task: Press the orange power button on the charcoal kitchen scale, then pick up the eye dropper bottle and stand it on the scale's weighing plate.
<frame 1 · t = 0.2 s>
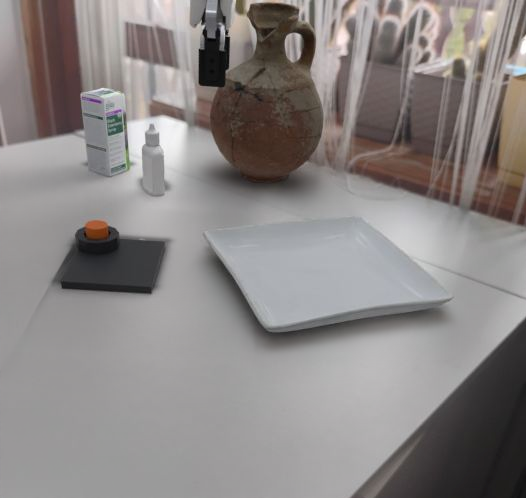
hand: (214, 77, 79), 26 cm above the table, tool pointing down, fingers open, 9 cm apart
scale: (116, 267, 90), on the table
square plate: (317, 284, 90), on the table
syrup box: (109, 171, 122), on the table
jug: (263, 174, 126), on the table
power button: (96, 230, 91), point 3 cm above the table, slide at 0.1 cm
eye dropper bottle: (154, 191, 115), on the table
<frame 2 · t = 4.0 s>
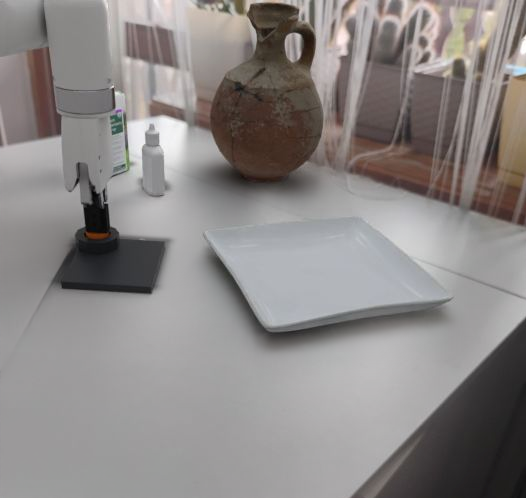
hand: (98, 230, 91), 3 cm above the table, tool pointing down, fingers closed
power button: (97, 236, 92), point 3 cm above the table, slide at -0.8 cm, touching gripper
everything else where it was.
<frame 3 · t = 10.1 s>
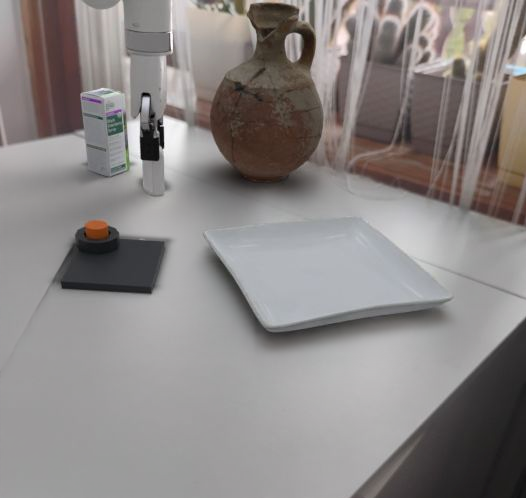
hand: (152, 153, 111), 7 cm above the table, tool pointing down, fingers closed on eye dropper bottle, 5 cm apart
power button: (96, 230, 91), point 3 cm above the table, slide at 0.1 cm
eye dropper bottle: (154, 191, 115), on the table, touching gripper
everything else where it was.
when the fingers open (8 cm above the table, at t = 18.2 s): eye dropper bottle stays where it is, resting on scale.
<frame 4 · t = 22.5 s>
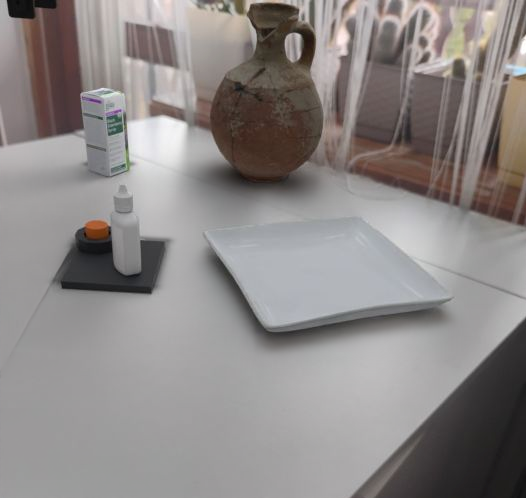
hand: (34, 12, 82), 30 cm above the table, tool pointing down, fingers open, 9 cm apart
eye dropper bottle: (127, 268, 88), point 1 cm above the table, touching scale
everything else where it was.
at the end: power button pushed in 1.1 cm at the most during the clip, back to where it started at the end; eye dropper bottle inside the target area on the scale (2.8 cm from its centre), point 1.0 cm above the scale's base; eye dropper bottle touching scale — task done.
